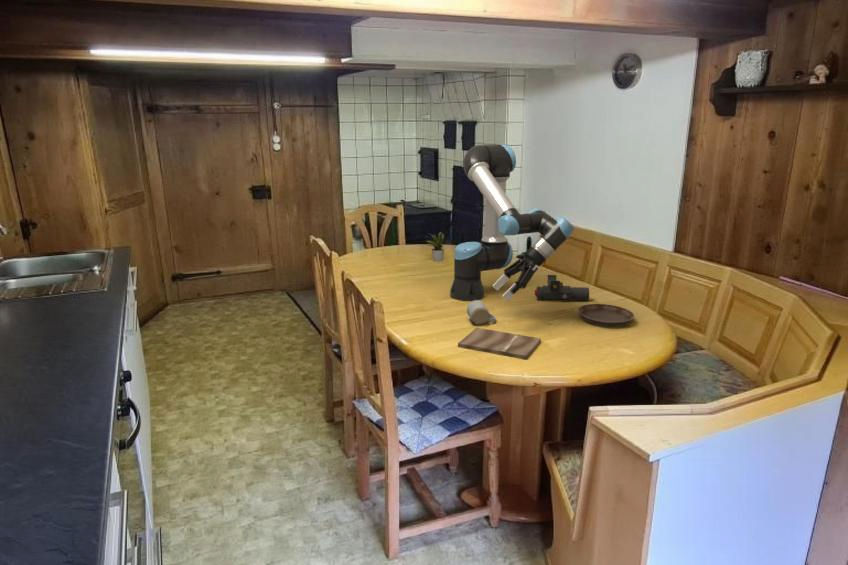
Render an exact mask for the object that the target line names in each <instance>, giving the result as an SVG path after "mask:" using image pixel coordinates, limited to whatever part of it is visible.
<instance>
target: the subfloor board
mask: <svg viewBox="0 0 848 565" xmlns="http://www.w3.org/2000/svg"><path fill="white" fill-rule="evenodd" d="M541 341H542V339H541V338H540V337H534V336H528V335H523V334H518V333H517V334H516V333H512V332H504V331H499V330H493V329H487V328H480V327H476V328H475V329H474V330H472V331H471V332H470V333H468V334H467V335H466V336H464V338H462V339H461V340H460V341H459V342H457V347H459V348H462V349H468V350H469V349H470V350H474V351H479V352H485V353H491V354H494V355H495V354H496V355H501V356H506V357H512V358H517V359H521V360H527V359H528V358H529V357H530V356H531V354H533V352H534V351H535V350H536V348H537V347H538V346H539V345H540V343H541Z"/></svg>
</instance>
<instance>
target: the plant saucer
mask: <svg viewBox="0 0 848 565" xmlns="http://www.w3.org/2000/svg"><path fill="white" fill-rule="evenodd" d="M577 311H578V312H577V313H578V314H579V316H580V317H581V318H582V320H584V321H585V322H587V323H589V324H591V325H593V326H599V327H605V328H617V327H623V326H626V325H627V324H629V323H631V322H632V321H633V319H634V318H635V314H634V313H633V312H632V311H631V310H629V309H627V308H625V307H622V306H617V305H613V304H604V303H592V304H591V303H590V304H589V303H588V304H584V305H582V306H580V307H579V308H577Z"/></svg>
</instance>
